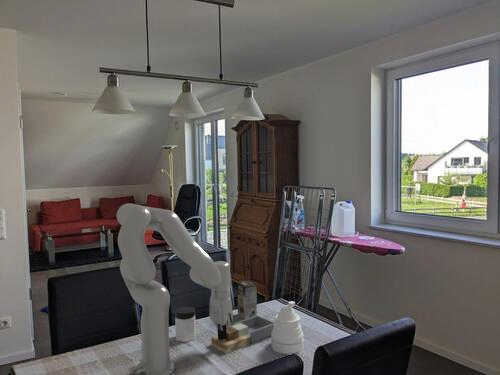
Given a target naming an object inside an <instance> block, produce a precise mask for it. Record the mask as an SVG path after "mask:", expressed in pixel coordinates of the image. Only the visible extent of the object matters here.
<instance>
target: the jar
mask: <svg viewBox="0 0 500 375" xmlns="http://www.w3.org/2000/svg"><path fill="white" fill-rule="evenodd" d="M174 312H175V313H174V314H175V319H174V322H175V341H176V342H177V341H178V342H183V343H186V342H191V341H194V340H195V339H196V334H197V332H196V330H197V329H196V309H195V307H192V306H181V307H178V308H176V309H175V311H174Z"/></svg>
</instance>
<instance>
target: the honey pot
mask: <svg viewBox="0 0 500 375" xmlns="http://www.w3.org/2000/svg"><path fill="white" fill-rule="evenodd" d="M295 305H296V302H295V301H292V300H290V301H288V304H285V305H283V306H281V308H280V310H279V312H278V314H276V315H275V317H274V320H275V321H274V322H275V324H274V327H273V330H272V333H271V337H270V342H271V343H270V347H271V349H272V350H273V351H275V352H277V353H279V354H284V355H293V353H294V354H298V353H300V352H302V351H303V350H304V343H305V342H304V336H305V335H304V332H303V330H302V329H303V328H302V326H301V323H300V321H301V317H300V315H299V314H297V313H296V312H295V310H294V309H293V308H294V306H295Z"/></svg>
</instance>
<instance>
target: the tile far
mask: <svg viewBox="0 0 500 375" xmlns="http://www.w3.org/2000/svg"><path fill="white" fill-rule="evenodd" d="M231 327H233V328H235V329H237V330H239V337H241V336H244V335H246V334H248V326H246V325H244V324H242V323H239V324H237V325H234V326H233V325H231Z"/></svg>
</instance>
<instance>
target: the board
mask: <svg viewBox="0 0 500 375" xmlns="http://www.w3.org/2000/svg"><path fill="white" fill-rule="evenodd" d="M210 341H211V346H212V347H214V348H216V349H217V350H220V351H222V352H223V353H224V354H230V353H232V352H234V351H236V350H239V349H241V348H244V347H246V346H249V345H251V344H250V336H248V335H244V336H241V337H239V338H236V339H234V340H231V341H228V340H226V339H223V340H219V339H218V334H217V335H215V336H212V337H211V339H210Z"/></svg>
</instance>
